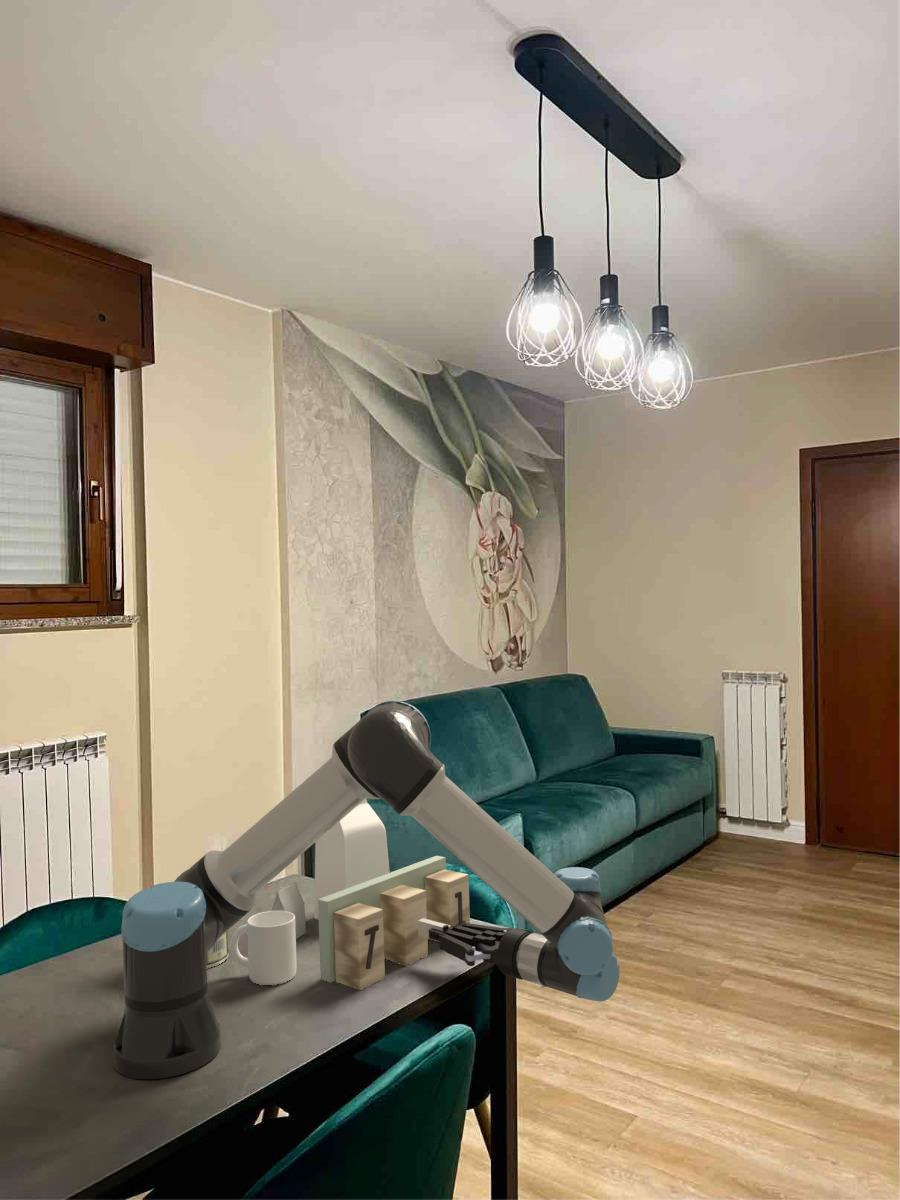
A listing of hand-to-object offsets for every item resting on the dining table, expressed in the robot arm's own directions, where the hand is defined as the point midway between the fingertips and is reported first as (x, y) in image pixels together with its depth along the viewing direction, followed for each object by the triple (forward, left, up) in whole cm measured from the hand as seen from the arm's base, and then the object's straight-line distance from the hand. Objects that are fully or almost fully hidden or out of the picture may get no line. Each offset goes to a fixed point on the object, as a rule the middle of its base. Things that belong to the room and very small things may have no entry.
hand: (420, 926), depth 164 cm
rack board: (+4, +7, -6) cm, 10 cm away
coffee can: (-5, +41, -7) cm, 42 cm away
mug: (-10, +26, -7) cm, 29 cm away
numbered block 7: (-9, +9, -6) cm, 14 cm away
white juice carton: (+8, +29, -7) cm, 31 cm away
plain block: (+2, +4, -6) cm, 8 cm away
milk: (+21, +20, -7) cm, 30 cm away
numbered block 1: (+12, -2, -6) cm, 14 cm away
